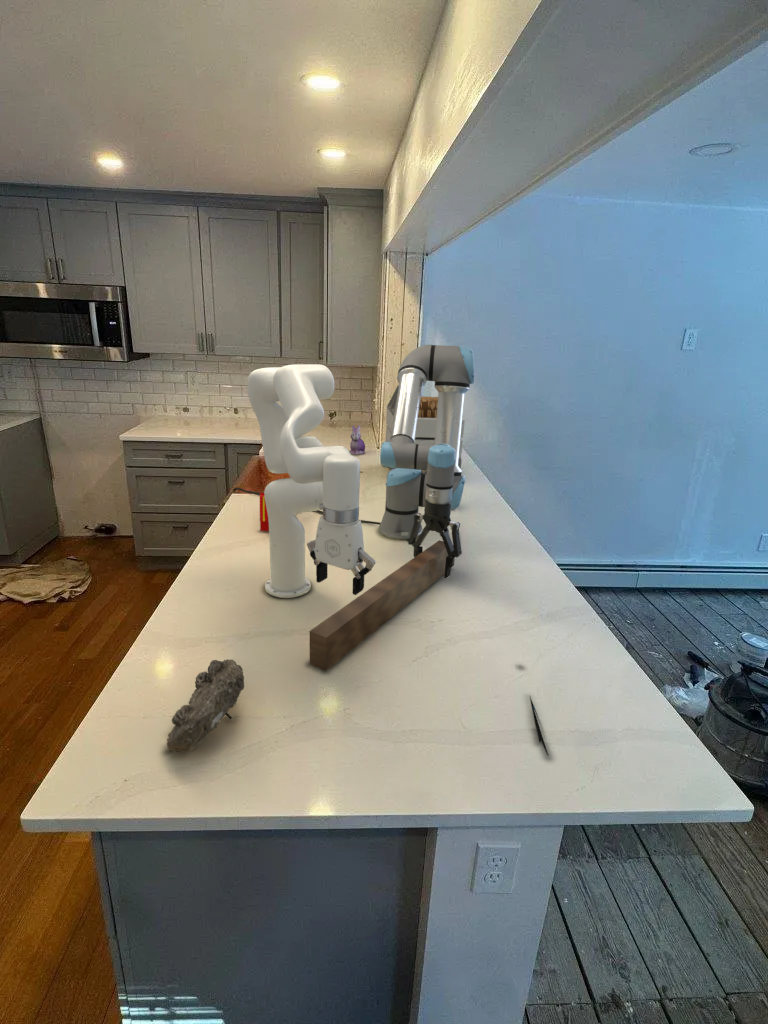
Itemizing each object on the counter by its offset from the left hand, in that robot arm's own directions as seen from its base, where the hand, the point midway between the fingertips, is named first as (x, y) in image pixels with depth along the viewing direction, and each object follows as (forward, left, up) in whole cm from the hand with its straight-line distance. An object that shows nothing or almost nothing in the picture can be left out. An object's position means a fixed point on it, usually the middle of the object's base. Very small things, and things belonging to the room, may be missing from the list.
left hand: (339, 586), depth 125 cm
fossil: (+10, -31, -17) cm, 36 cm away
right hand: (-24, +42, -15) cm, 50 cm away
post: (-12, +21, -17) cm, 29 cm away
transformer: (-121, +98, -17) cm, 157 cm away
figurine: (-167, +87, -17) cm, 189 cm away
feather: (+35, +27, -17) cm, 47 cm away
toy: (-87, +15, -17) cm, 90 cm away
